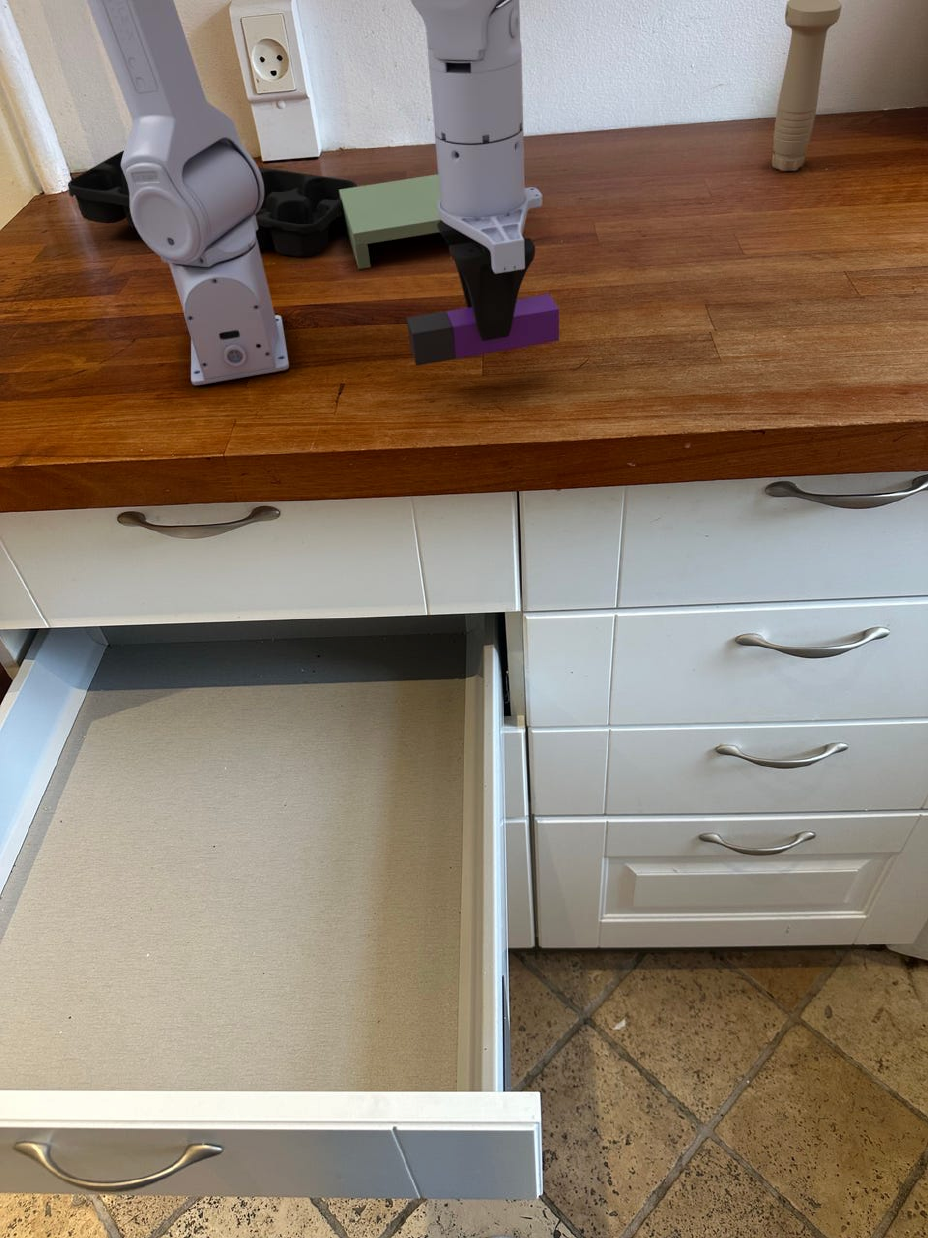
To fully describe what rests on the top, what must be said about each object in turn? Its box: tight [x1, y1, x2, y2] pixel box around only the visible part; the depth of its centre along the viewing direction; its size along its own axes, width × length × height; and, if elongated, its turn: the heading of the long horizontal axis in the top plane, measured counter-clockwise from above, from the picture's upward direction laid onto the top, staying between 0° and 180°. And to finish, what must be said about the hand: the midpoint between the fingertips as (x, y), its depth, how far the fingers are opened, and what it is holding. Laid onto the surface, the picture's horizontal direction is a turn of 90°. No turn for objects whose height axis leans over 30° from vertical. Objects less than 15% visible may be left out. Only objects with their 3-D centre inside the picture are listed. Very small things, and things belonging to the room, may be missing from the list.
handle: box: [771, 0, 843, 172], centre depth 94 cm, size 5×6×15 cm
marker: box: [406, 293, 560, 366], centre depth 68 cm, size 3×11×3 cm, turn 102°
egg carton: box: [67, 150, 358, 258], centre depth 97 cm, size 18×30×4 cm, turn 84°
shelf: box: [339, 173, 441, 270], centre depth 92 cm, size 12×16×4 cm
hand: (489, 326), depth 68 cm, fingers closed on marker, 2 cm apart
